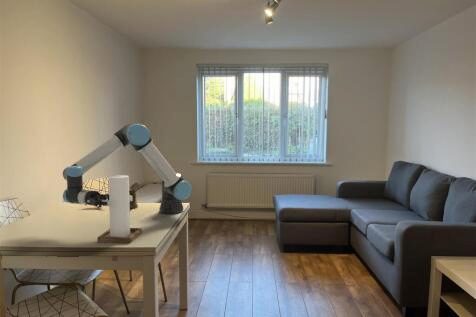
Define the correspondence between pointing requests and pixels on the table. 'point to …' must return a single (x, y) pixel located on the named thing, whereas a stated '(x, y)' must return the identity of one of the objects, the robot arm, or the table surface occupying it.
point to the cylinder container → (119, 206)
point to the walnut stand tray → (133, 235)
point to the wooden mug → (132, 191)
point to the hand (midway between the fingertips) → (123, 201)
